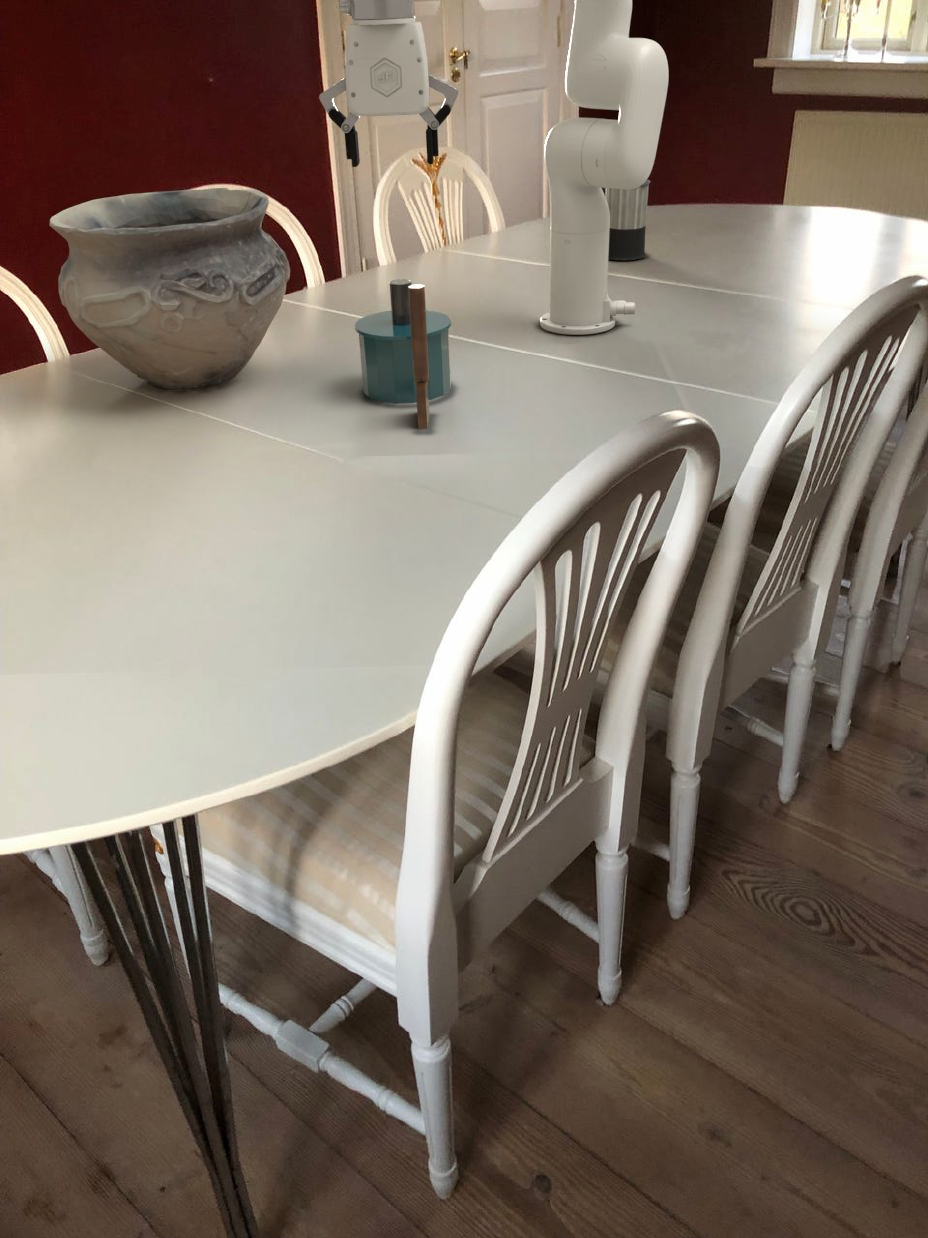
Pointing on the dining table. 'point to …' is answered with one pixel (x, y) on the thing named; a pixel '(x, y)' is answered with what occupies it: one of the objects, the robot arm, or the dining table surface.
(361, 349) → the pot
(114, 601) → the dining table surface
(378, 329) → the lid
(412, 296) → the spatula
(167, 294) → the clay pot
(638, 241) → the milk frother
